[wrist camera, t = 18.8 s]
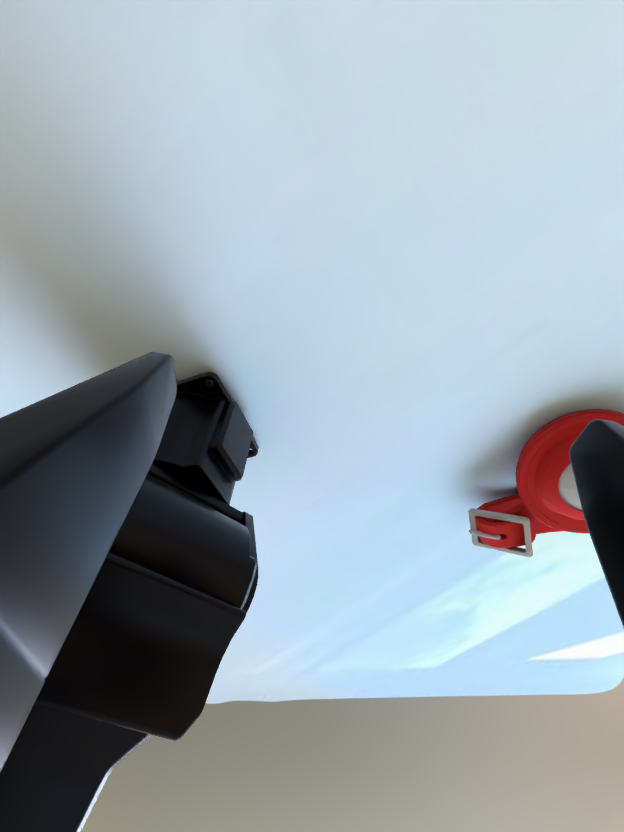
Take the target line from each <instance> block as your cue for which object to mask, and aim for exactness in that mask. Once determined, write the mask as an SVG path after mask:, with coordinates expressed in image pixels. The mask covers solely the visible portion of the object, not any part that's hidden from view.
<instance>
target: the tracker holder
mask: <svg viewBox="0 0 624 832" xmlns="http://www.w3.org/2000/svg"><path fill="white" fill-rule="evenodd" d="M595 419H601V420H608V421H614V422H617V423H619V424H620V425H622V426H624V414H622V413H619V412H615V411H610V410H585V411H579V412H575V413H571V414H568V415H565V416H562V417H560V418H558V419H556V420H554V421H552V422H550V423H548V424H547V425H545V426H544V427H542V428H541V429H540V430H539V431H538V432H536V433H535V434H534V435H533V436H532V437H531V439H530V440H529V441H528V442H527V443H526V445H525V446H524V448H523V450H522V452H521V454H520V456H519V460H518V463H517V466H516V482H517V489H518V493H519V494H517V495H512V496H508V497H504V498H501V499H497V500H494V501H491V502H488V503H485V504H483V505H482V506H480V507H479V508H477V509H472V508H471V509H470V510H469V511H468V512H469V520H470V527H471V529H470V530H469V532H470V534H472V542H473V544H474V545H476V546H480V547H485V548H489V549H494V550H499V551H503V552H508V553H512V554H517V555H521V556H526V557H531V556H532V555H533V553H532V542H533V541H534V540H535V536H536V534H540V533H547V532H557V531H568V532H576V533H589V530H588V528H587V525H586V522H585V518H584V515H583V511H582V508H581V503H580V499H579V495H578V491H577V487H576V483H575V479H574V474H573V470H572V466H571V462H570V458H569V451H570V447H571V445H572V444H573V443H574V441H575V440H576V439H577V437H578V436H579V435H580V434H581V432H582V431H583V430H584V428H585V427H586V426H587V425H588V423H589V422H591V421H592V420H595ZM523 545H526V549H523V548H518V547H517V546H523Z"/></svg>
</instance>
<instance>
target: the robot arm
mask: <svg viewBox="0 0 624 832" xmlns="http://www.w3.org/2000/svg"><path fill="white" fill-rule="evenodd" d="M207 380H212V381H213V383H209V382H208V381H207ZM252 435H253V431H252V429H251V428H250V426H249V424H248V422H247V421H246V419H245V417H244V415H243V414H242V412H241V410H240V408H239V407H238V405H237V403H236V402H234V401H233V400H231V398H230V396H229V394H228V393H227V391H226V389H225V388H224V386H223V384H222V382H221V381H220V379H219V377H218V376H217V375H216V374H214V373H212V372H207V373H204V374H200V375H197V376H194V377H191V378H187V379H184V380H181V381H178V382H176V375H175V366H174V360H173V357H172V356H171V355H169V354H163V353H156V352H151V353H148V354H146V355H143V356H141V357H139V358H137V359H134V360H132V361H130V362H128V363H125V364H123V365H121V366H118V367H116V368H114V369H112V370H109V371H107V372H105V373H102V374H100V375H98V376H96V377H93V378H91V379H89V380H86V381H84V382H82V383H80V384H77V385H75V386H73V387H70V388H68V389H66V390H64V391H61V392H59V393H57V394H54V395H52V396H50V397H48V398H45V399H43V400H41V401H38V402H36V403H34V404H32V405H29V406H27V407H25V408H22V409H20V410H18V411H16V412H13V413H11V414H9V415H7V416H4V417H2V418H0V832H81V830H82V828H83V826H84V824H85V822H86V820H87V818H88V816H89V814H90V812H91V810H92V808H93V806H94V804H95V802H96V800H97V798H98V795H99V794H100V791H101V790H102V787H103V786H104V784H105V782H106V780H107V778H108V777H109V775H110V773H111V771H112V769H113V768H114V767H115V766H116V765H117V764H118V763H119V762H120V761H122V760H123V759H124V758H125V757H126V756H128V755H129V754H130V753H131V752H132V751H133V750H135V749H136V748H137V747H138V746H139V745H140V744H142V742H144V741H145V740H146V739H147V738H149V737H150V736H151V735H155V736H158V737H162V738H166V739H170V740H174V741H176V740H178V739H179V738H181V737H182V736H183V735H184V733H185V732H186V731H187V730H188V729H189V728H190V726H191V725H192V724H193V723H194V722H195V720H196V719H197V718H198V717H199V715H200V714H201V712H202V710H203V708H204V705H205V702H206V699H207V697H208V694H209V691H210V688H211V685H212V683H213V680H214V677H215V674H216V672H217V669H218V667H219V664H220V662H221V659H222V657H223V655H224V653H225V651H226V649H227V647H228V645H229V643H230V641H231V639H232V637H233V636H234V634H235V633H236V631H237V630H238V628H239V626H240V625H241V623H242V622H243V620H244V619H245V616H246V613H247V611H248V609H249V607H250V604H251V602H252V599H253V597H254V593H255V590H256V586H257V580H258V563H257V553H256V543H255V533H254V524H253V516H251V515H250V514H248V513H246V512H240V511H238V510H237V509H235V508H233V507H231V506H229V504H230V500H231V497H232V493H233V489H234V485H235V482H236V481H240V480H241V478H242V476H243V473H244V468H245V464H246V460H247V458H250V457H254V456H256V455H257V453H258V448H259V447H258V445H257V443H256V441H255V439H254V438H253V436H252ZM249 448H251V449H253V450H249ZM569 458H570V462H571V466H572V470H573V474H574V479H575V483H576V487H577V491H578V495H579V499H580V503H581V508H582V511H583V515H584V518H585V522H586V525H587V528H588V530H589V533H590V536H591V539H592V541H593V544H594V547H595V550H596V553H597V555H598V558H599V561H600V564H601V566H602V569H603V572H604V575H605V578H606V580H607V583H608V586H609V589H610V591H611V594H612V597H613V600H614V602H615V605H616V608H617V611H618V614H619V616H620V619H621V622H622V625H623V627H624V426H622V425H620V424H619V423H617V422H614V421H608V420H601V419H595V420H592V421H591V422H589V423H588V425H587V426H586V427H585V428H584V430H583V431H582V432H581V434H580V435H579V436H578V437H577V439H576V440H575V441H574V443H573V444H572V445H571V447H570V451H569Z"/></svg>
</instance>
